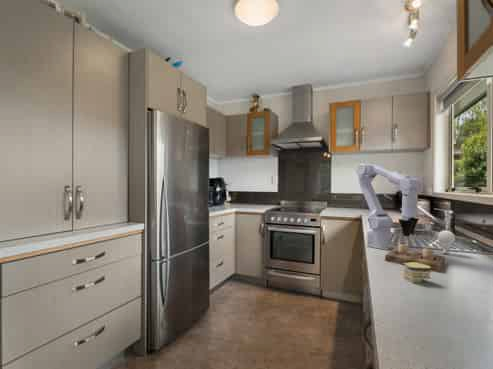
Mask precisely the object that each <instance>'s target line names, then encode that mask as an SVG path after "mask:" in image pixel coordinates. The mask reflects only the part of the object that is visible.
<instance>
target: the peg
mask: <svg viewBox="0 0 493 369" xmlns="http://www.w3.org/2000/svg"><path fill="white" fill-rule="evenodd" d="M422 253H423V259H427V260H432V261H434V255H435V254H434V253H435V250H434V249H431V248H423V249H422Z"/></svg>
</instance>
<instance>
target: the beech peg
mask: <svg viewBox="0 0 493 369" xmlns="http://www.w3.org/2000/svg"><path fill="white" fill-rule="evenodd" d="M408 247H409V246H408V245H407V244H404V243H403V244H401V243H400V244H398V245H397V248H398V254H401V255H406V256H407V255H408V250H409V248H408Z"/></svg>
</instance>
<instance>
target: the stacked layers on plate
mask: <svg viewBox="0 0 493 369" xmlns="http://www.w3.org/2000/svg"><path fill="white" fill-rule="evenodd" d="M403 264H405V265H404V266H402V269H404V270H403V272H402V275H403V279H404V280H405V279H406V281H407V280H408V281H407V282H409V283H412V282H416V283H422V280H431V276H430V273H432V271H431V270H428V269H425V268H431V267H430V266H428V265H424V264H421V263H416V262H410V263H403ZM407 265H408V266H407Z"/></svg>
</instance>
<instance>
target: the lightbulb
mask: <svg viewBox="0 0 493 369" xmlns="http://www.w3.org/2000/svg"><path fill="white" fill-rule="evenodd" d="M437 239H438V241H439V242H440V245H441V248H442V249H441V252H442V253H443V254H444V255H448V254H450V249H451V246H452V244H454V242H455V240H456V235H455V233H454V232H452V231H451V230H448V229H447V230H444V229H443V230H440V231H439V232H438V234H437Z"/></svg>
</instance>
